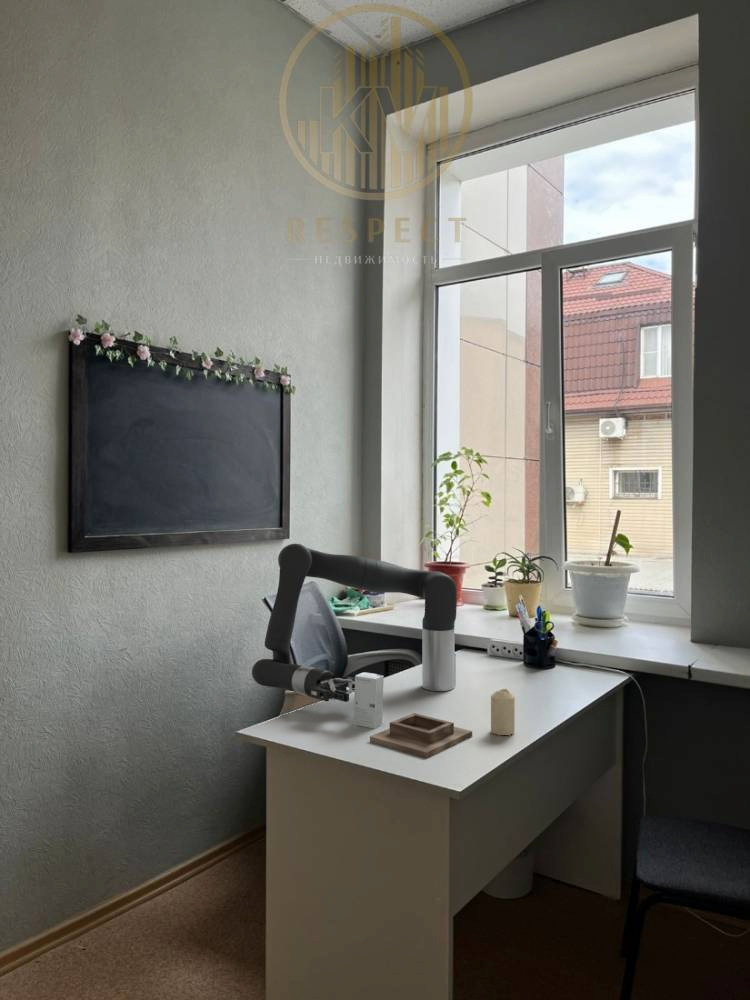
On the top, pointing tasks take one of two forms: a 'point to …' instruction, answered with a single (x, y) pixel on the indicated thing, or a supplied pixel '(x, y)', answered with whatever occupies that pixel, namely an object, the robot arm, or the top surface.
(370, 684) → the skincare box
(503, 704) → the candle
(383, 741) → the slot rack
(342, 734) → the top surface
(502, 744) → the top surface
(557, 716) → the top surface
